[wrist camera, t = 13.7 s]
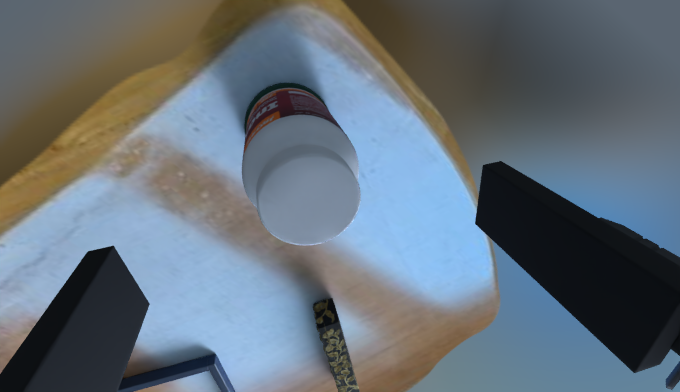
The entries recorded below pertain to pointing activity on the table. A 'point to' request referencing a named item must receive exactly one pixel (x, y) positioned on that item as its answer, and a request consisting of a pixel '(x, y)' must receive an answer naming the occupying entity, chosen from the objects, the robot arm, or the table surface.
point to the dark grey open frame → (179, 375)
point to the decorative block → (335, 345)
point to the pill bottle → (299, 168)
